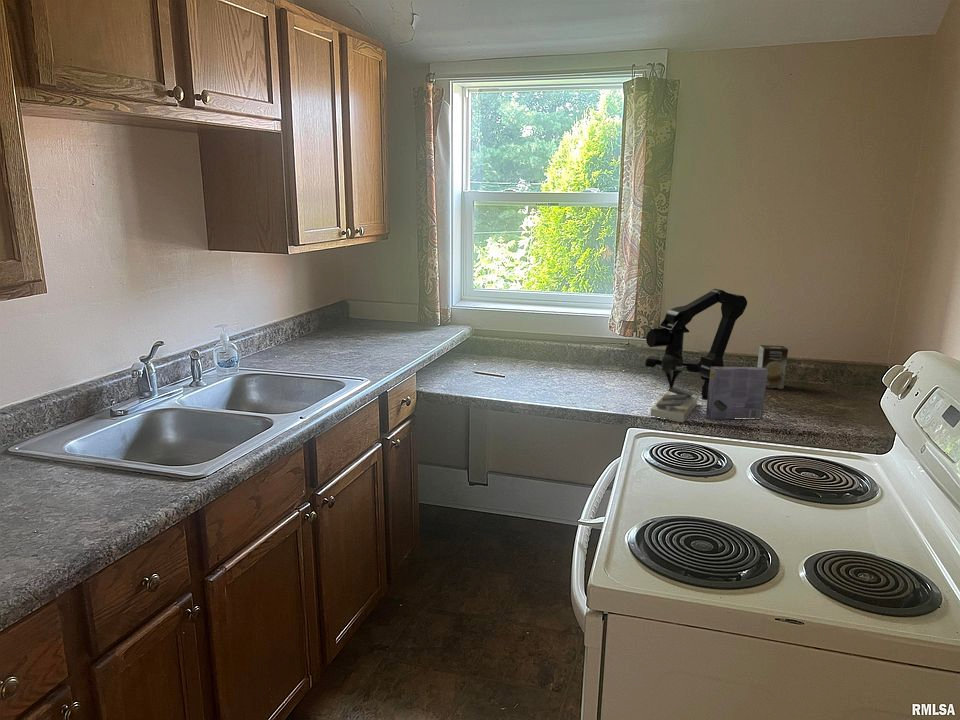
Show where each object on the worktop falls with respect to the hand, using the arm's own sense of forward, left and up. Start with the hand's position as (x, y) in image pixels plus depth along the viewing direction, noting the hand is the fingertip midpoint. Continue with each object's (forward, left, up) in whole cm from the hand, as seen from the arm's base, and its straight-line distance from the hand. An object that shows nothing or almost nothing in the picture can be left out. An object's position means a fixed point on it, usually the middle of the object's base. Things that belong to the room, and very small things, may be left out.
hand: (671, 387), depth 248 cm
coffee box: (-29, -41, -6) cm, 51 cm away
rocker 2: (-3, +16, -2) cm, 16 cm away
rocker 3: (-3, 0, -2) cm, 4 cm away
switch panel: (-3, +8, -6) cm, 11 cm away
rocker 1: (-3, +8, -2) cm, 9 cm away
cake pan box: (-23, +6, -6) cm, 25 cm away
